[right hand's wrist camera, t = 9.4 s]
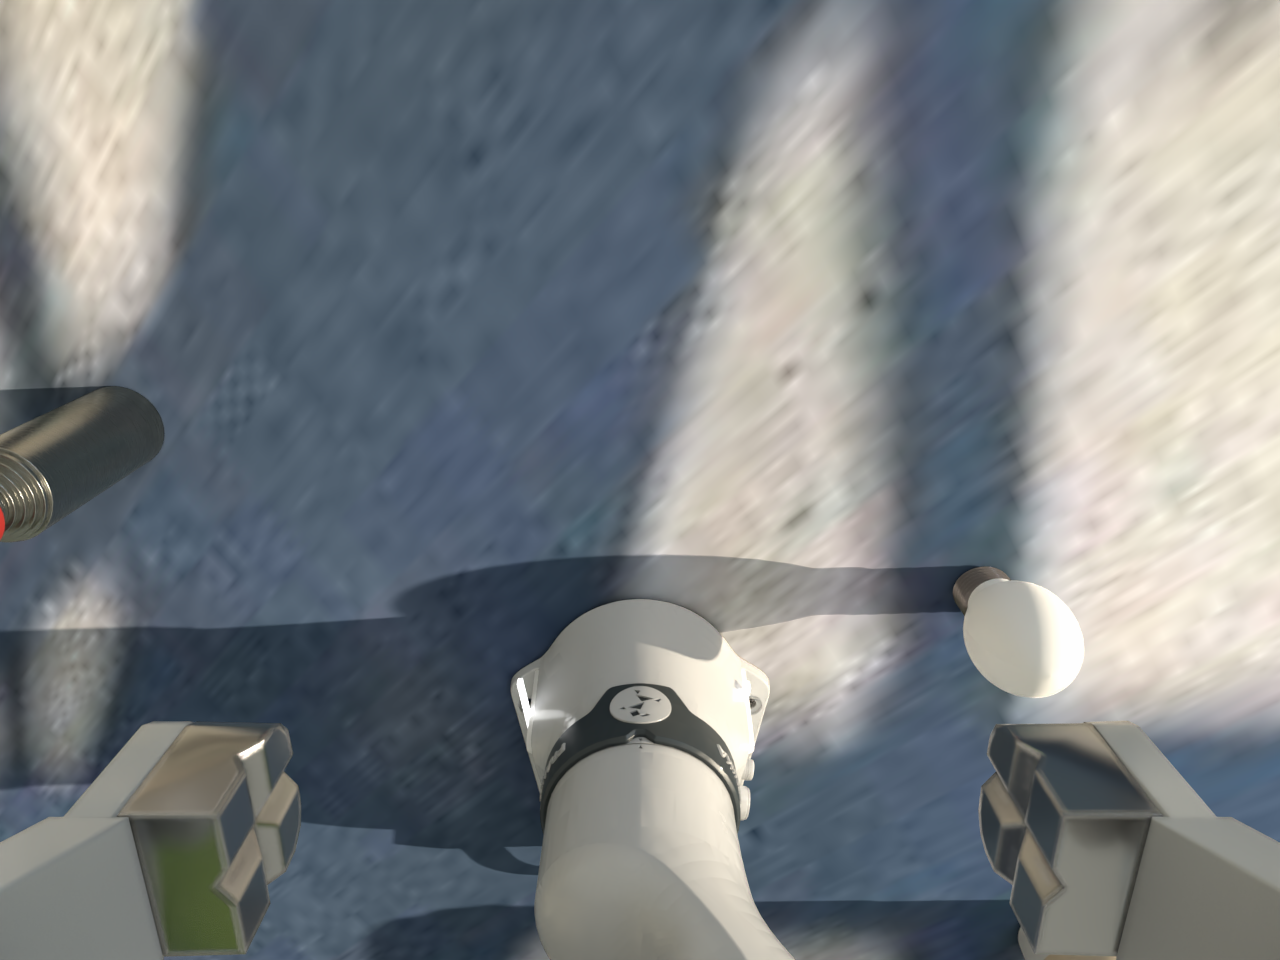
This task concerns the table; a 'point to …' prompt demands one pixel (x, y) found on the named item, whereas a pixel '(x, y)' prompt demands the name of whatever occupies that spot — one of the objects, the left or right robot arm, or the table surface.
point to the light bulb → (1018, 633)
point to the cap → (2, 523)
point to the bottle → (73, 457)
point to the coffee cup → (1029, 955)
